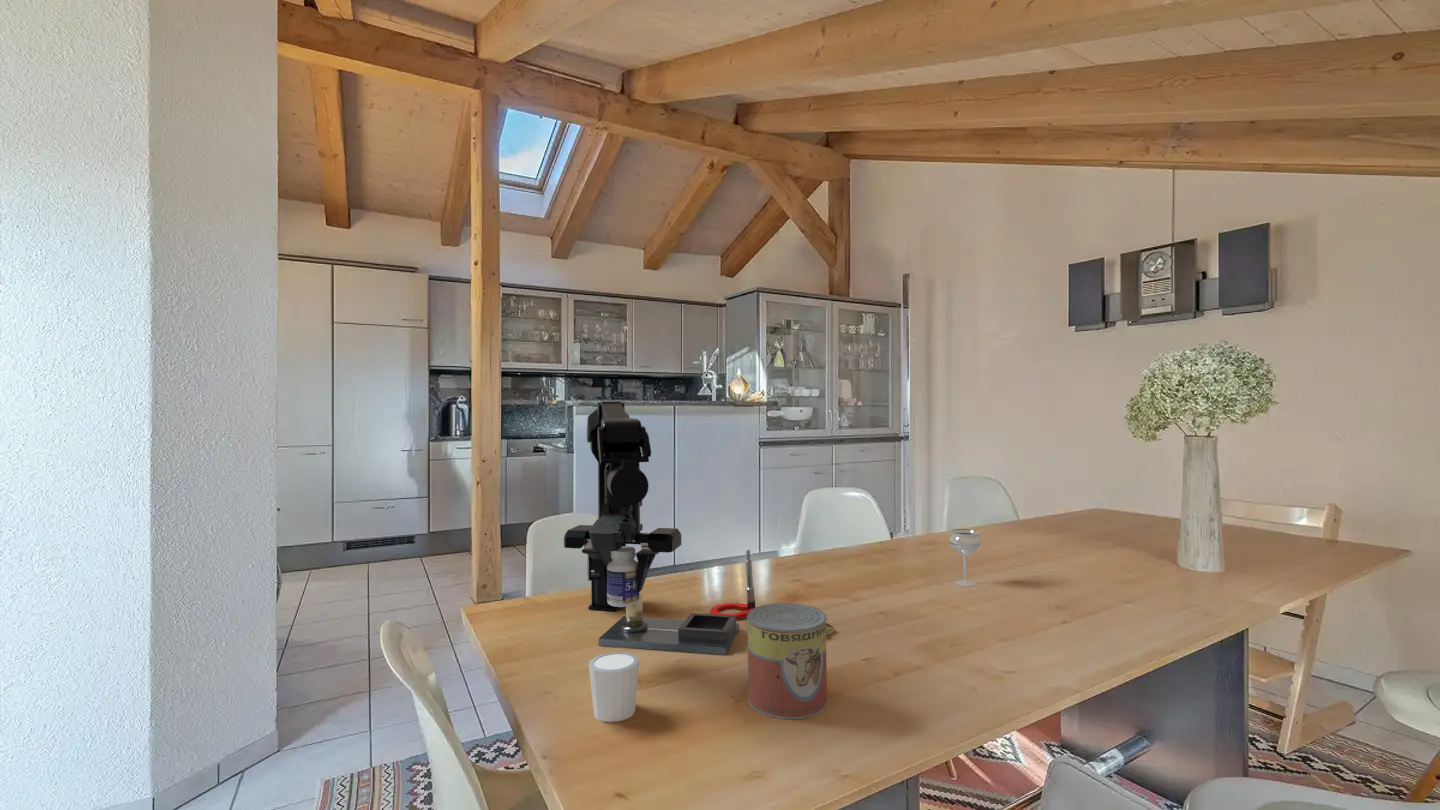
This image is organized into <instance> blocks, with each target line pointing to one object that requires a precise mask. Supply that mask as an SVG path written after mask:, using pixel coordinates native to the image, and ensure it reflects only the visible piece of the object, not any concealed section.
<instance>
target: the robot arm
mask: <svg viewBox="0 0 1440 810" xmlns="http://www.w3.org/2000/svg"><path fill="white" fill-rule="evenodd" d="M586 420H587V422H586V440H587V441H586V442H587V443H589V446H590V447H589V448H590V450H591V453H592V455H593V456H594V458H595V460H596V461H597V503H598V504H597V509H598V511H597V512H598V513H597V515H598V518H597V519H596V520H595V521H594V523H593V524H591V525H590V524H589V525H588V524H578V525H577V526H574V527H572V528H570V529H568V530H567V531H566V532H565V533H564V536H563V548H565V549H582V550H581V552H582V554H583V555H584V554H586V555H587V558H586V559H587V562H586V574H587V580H588V582H589V581H591V582H590V583H591V585H590V586H591V589H590V590H591V592H590V593H591V595H590V596H591V604H589V605H588V607H587V608H588V610H598V611H599V610H600V611H614V612H615V611H619V610H620V609H621V608H622V607H615V606H611V605H609V604H608V602H607V565H608V564H609V563H610V562H611V561H612V559H611V551H617V550H619V549H621V547H622V546H627V545H640V548H641V550H639V551H637V552H635V558H636V561H637V562H638V569H637V591H638V592H639V593H640V592H641V591H642V590H643V587H644V585H645V582H646V580H647V577H648V574H649V571H650V569H651V566H652V563H653V562H654V560H655V557H656V556H657V555H658V554H660V553H673V552H674V551H675V550H677V549H678V548H679V547H681V546H682V544H683V543H682V532H681V531H680V530H679V529H678V528H676V527H675V528H674V527H673V528H671V527H670V528H669V527H658V528H656V529H654V530H653V531H651V532H641V531H642V530H643V528H644V527H643V523H641V507H642V506H643V500H644V499H645V498H646V496H647V494H648V492H649V481H648V478H647V476H646V474H645V473H644V472H643V471H642V470H641V468H640V463H649V462H650V461H649V460H650V457H652V449H651V443H650V436H649V433H648V432H647V429H646V426H643V425H642V422H641V421H640V419H637V418H633V417H630V415H629V414H628V413H627V411H626V409H625V402H621V401H620V400H611V401H608V400H607V401H606V400H605V401H600V402H597V407H596V409H595V410H594V411H593V412H592V413H590V414H589V415H588V416H587V419H586Z"/></svg>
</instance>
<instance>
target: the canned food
mask: <svg viewBox="0 0 1440 810" xmlns="http://www.w3.org/2000/svg"><path fill="white" fill-rule="evenodd" d="M746 619H747V666H748V667H747V671H748V672H747V674H748V675H747V676H748V677H747V678H748V679H747V680H748V681H747V682H748V695H747V702H748V704H749V706H750V707H751V708H752V709H753V710H754V711H756V712H757V713H759V714H761V715H763V714H764V715H763V716H766V715H767V717H769V716H770V718H773V717H774V718H773V719H778V718H780V719H779V720H802V719H808V718H811V717H814V716H815V717H816V716H817V715H819V714H821V713H822V712H823V711H825V710H826V708H827V706H828V703H829V702H828V700H829V699H828V685H827V684H828V680H827V679H828V677H827V675H828V674H827V672H828V671H827V668H828V667H827V635H826V623H827V615H826V614H825V613H824V611H822V610H820V609H818V608H816V607H813V606H810V605H806V604H800V603H789V602H788V603H787V602H786V603H785V602H782V603H780V602H779V603H770V604H764V605H759V606H756V608H754V609H752V610H750V611H749V612H748V614H747V617H746Z"/></svg>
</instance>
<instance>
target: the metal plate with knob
mask: <svg viewBox="0 0 1440 810" xmlns="http://www.w3.org/2000/svg"><path fill="white" fill-rule="evenodd" d="M643 616H644V615H643V594H642V593H639V602H638V603H637V604H635V605H632V606H627V607H625V616H624V615H623V616H622V617H621V618H620V619H619V620H617V621H616V623H614V624H613V625H612V626H611V627H610V628H608V629H607V630H606V631H605V632H604V633H603V634H602V635H601V636H600V637H598V646H602V647H603V646H604V647H616V648H625V649H626V648H627V649H628V648H631V649H641V650H653V651H654V650H655V651H656V650H657V651H669V652H681V653H695V654H696V653H697V654H708V655H709V654H710V655H721V656H723V655H724V656H726V655H727V653H728V651H729V649H730V648H731V646H732V644H733V642H734V640H735V639H736V637H737V635H738V633H739V631H740V623H738V622H737V619H736V616H733V615H717V614H710V613H696V612H691V613H690V614H689V615H688V616H687V617H686V619H676V618H675V619H674V618H658V617H657V618H656V617H643Z"/></svg>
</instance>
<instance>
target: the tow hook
mask: <svg viewBox="0 0 1440 810" xmlns="http://www.w3.org/2000/svg"><path fill="white" fill-rule="evenodd" d="M745 553H746V560H745V568H746V572H745V574H746V585H747V587H746V594H747V596H746V597H747V601H746V602H747V603H740V602H728V603H727V602H726V603H721V604H717V605H715V606H713V607H711V608H710V609H709V614H717V615H733V616H736V620H741V619H743V618H747V614H748V612H749V611H750V610H752V609H754V608H756V607H757V605H756V597H755V587H754V579H753V578H754V577H753V565H752V564H753V563H752V559H751V549H746V550H745ZM729 609H732V610H733V609H734V610H736V609H737V610H741V611H739V612H735V613H734V612H733V613H722V612H720V611H724V610H729Z"/></svg>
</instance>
